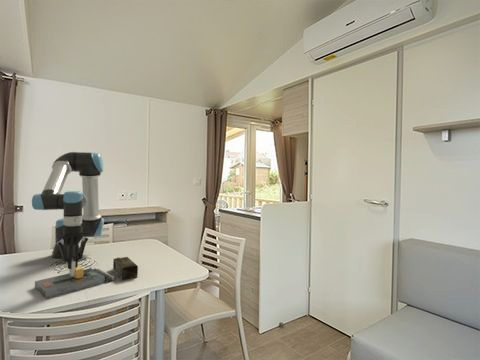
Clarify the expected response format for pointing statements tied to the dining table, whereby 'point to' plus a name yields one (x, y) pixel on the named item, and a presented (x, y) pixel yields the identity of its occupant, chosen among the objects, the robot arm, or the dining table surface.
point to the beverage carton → (125, 268)
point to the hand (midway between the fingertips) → (72, 275)
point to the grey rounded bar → (107, 276)
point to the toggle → (78, 272)
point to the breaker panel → (68, 283)
